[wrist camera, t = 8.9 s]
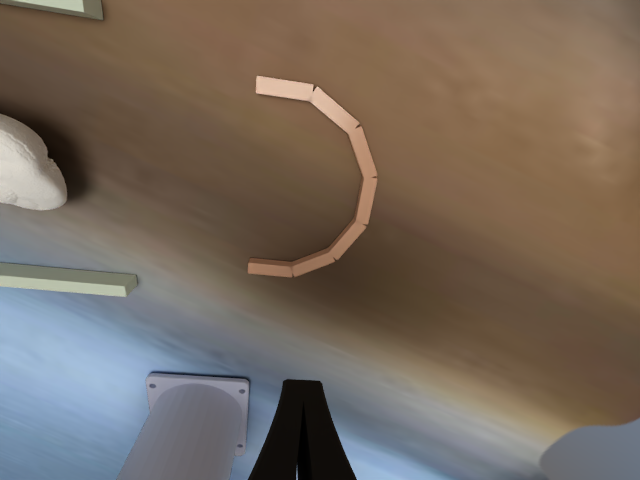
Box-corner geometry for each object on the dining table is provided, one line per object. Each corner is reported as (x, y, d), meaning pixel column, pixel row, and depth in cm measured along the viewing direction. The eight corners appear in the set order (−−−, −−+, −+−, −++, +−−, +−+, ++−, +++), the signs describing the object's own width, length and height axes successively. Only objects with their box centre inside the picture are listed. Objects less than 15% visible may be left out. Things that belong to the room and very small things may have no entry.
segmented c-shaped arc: (353, 278, 21) (355, 283, 21) (249, 267, 20) (247, 273, 20) (391, 97, 17) (395, 97, 16) (258, 76, 16) (256, 75, 15)
